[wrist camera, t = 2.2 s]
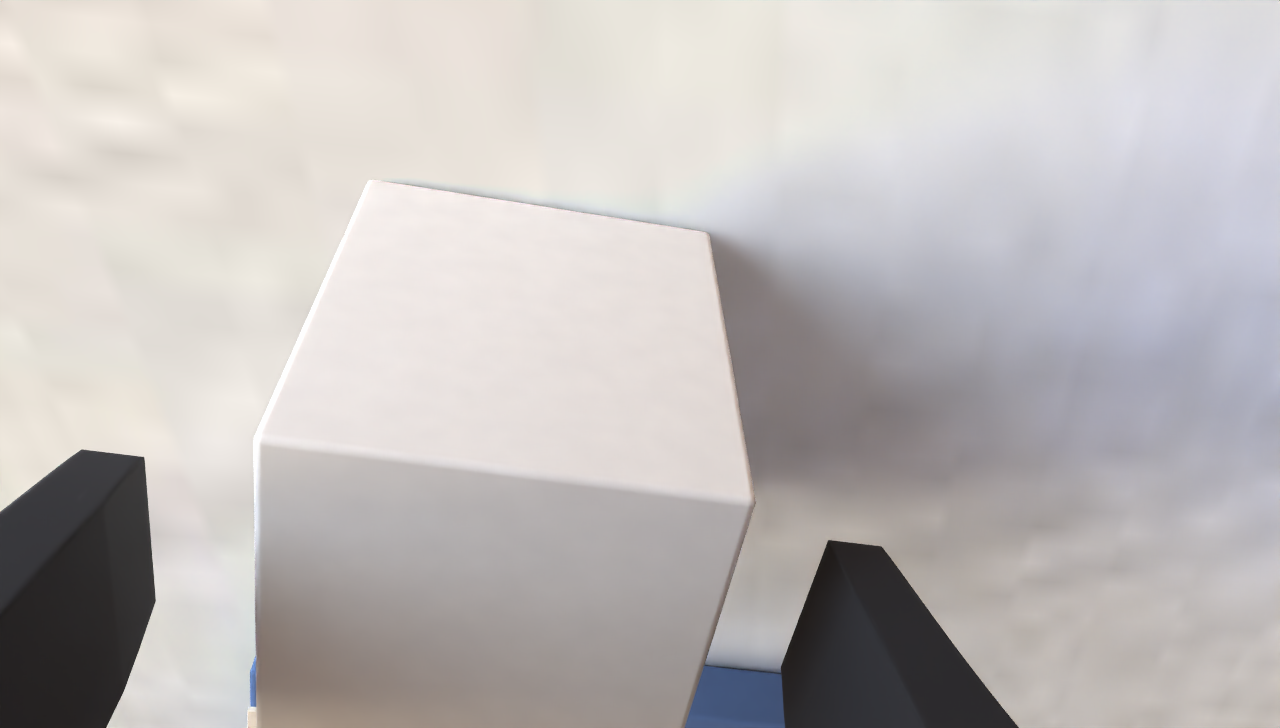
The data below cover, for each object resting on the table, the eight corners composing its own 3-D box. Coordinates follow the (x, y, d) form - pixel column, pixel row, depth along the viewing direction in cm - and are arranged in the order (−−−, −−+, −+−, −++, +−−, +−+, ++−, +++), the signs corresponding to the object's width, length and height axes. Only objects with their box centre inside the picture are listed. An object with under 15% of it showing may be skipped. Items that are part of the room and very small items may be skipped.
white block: (711, 230, 14) (758, 501, 10) (647, 488, 17) (663, 802, 12) (368, 176, 14) (250, 437, 9) (353, 450, 16) (254, 765, 12)
